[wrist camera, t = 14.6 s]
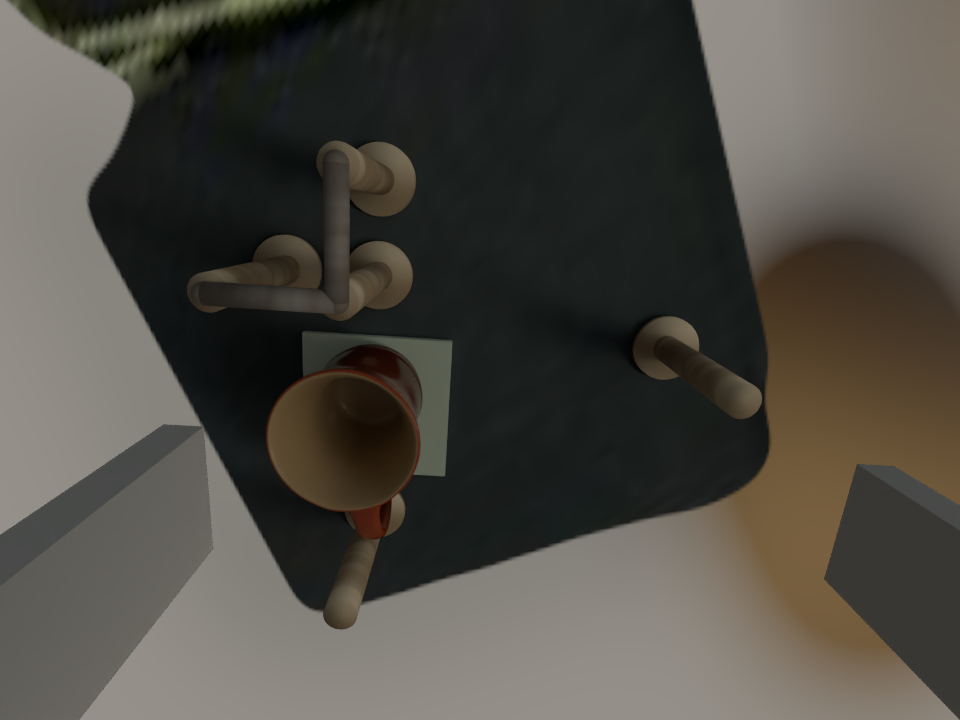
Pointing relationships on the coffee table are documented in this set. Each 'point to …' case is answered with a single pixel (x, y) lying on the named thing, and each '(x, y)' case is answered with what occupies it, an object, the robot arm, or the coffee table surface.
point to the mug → (350, 434)
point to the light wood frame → (326, 246)
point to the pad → (433, 374)
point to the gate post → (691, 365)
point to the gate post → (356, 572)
